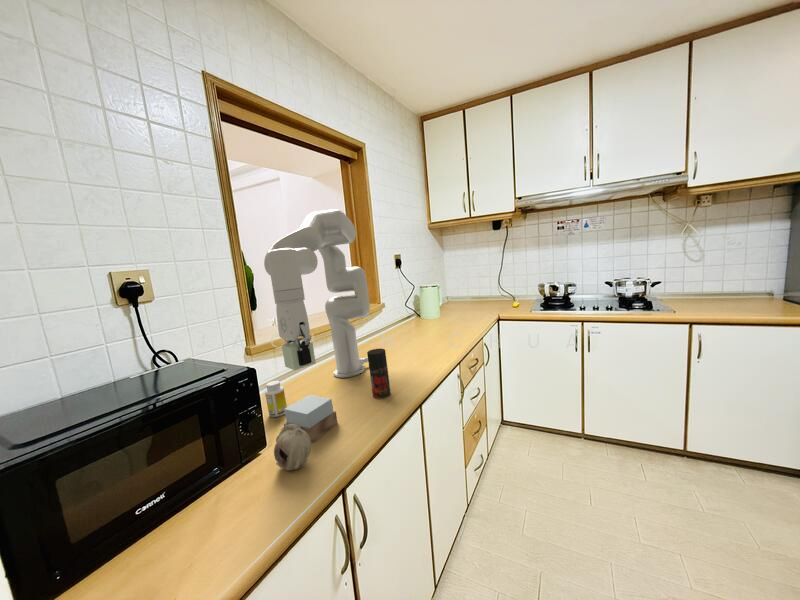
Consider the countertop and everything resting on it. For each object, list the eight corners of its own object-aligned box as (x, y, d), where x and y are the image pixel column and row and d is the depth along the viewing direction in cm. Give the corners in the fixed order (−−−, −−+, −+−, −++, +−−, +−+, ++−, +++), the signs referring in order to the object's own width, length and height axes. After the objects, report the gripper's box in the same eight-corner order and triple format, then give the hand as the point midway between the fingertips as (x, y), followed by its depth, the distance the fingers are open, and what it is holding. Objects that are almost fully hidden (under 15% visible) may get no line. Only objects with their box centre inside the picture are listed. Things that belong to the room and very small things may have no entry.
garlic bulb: (283, 456, 80) (276, 418, 78) (318, 451, 80) (311, 412, 79) (270, 482, 70) (262, 439, 69) (310, 476, 71) (303, 433, 69)
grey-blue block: (311, 407, 96) (309, 394, 96) (333, 412, 92) (331, 398, 91) (286, 422, 89) (284, 408, 88) (309, 428, 84) (306, 414, 84)
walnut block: (311, 419, 98) (309, 407, 97) (337, 424, 93) (335, 411, 92) (285, 437, 89) (283, 424, 88) (313, 444, 84) (310, 429, 83)
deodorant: (369, 396, 108) (363, 352, 106) (382, 389, 112) (376, 347, 110) (381, 400, 104) (375, 355, 102) (394, 393, 108) (388, 349, 106)
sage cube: (305, 360, 92) (302, 339, 91) (315, 363, 88) (312, 341, 87) (285, 366, 88) (281, 345, 87) (294, 370, 84) (290, 347, 83)
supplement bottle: (289, 408, 107) (284, 378, 105) (285, 416, 101) (279, 385, 100) (272, 410, 106) (266, 380, 105) (266, 419, 101) (261, 387, 99)
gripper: (263, 298, 89) (274, 361, 92) (289, 299, 77) (300, 372, 79) (289, 293, 94) (299, 353, 97) (317, 294, 81) (328, 363, 84)
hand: (299, 361), depth 88 cm, fingers closed on sage cube, 6 cm apart
